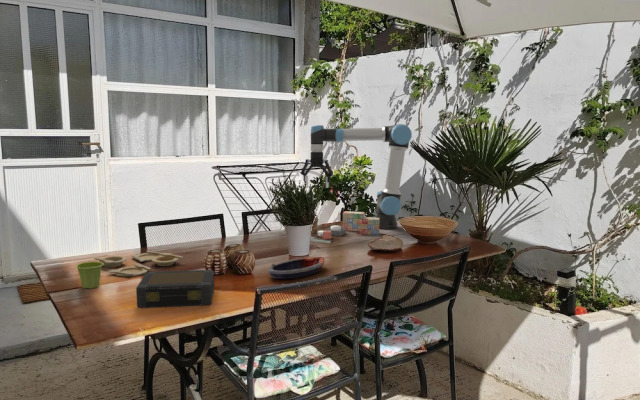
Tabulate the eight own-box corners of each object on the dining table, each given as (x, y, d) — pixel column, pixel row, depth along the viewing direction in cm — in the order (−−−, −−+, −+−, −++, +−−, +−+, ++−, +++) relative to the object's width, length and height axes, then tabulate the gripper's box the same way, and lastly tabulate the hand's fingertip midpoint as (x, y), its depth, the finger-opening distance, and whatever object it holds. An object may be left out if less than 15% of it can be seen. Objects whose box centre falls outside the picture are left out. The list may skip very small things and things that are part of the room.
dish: (258, 276, 208) (258, 264, 207) (313, 263, 229) (313, 252, 228) (282, 285, 197) (282, 272, 196) (336, 270, 218) (337, 259, 217)
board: (346, 235, 289) (346, 228, 289) (331, 243, 267) (331, 236, 267) (319, 232, 296) (319, 225, 295) (302, 240, 274) (303, 233, 273)
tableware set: (122, 281, 200) (121, 271, 200) (85, 268, 218) (85, 259, 217) (192, 263, 228) (192, 254, 227) (154, 253, 246) (154, 245, 245)
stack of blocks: (379, 233, 297) (380, 212, 295) (377, 235, 291) (378, 214, 289) (344, 230, 303) (345, 210, 301) (342, 232, 297) (342, 212, 295)
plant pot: (96, 281, 198) (95, 260, 197) (108, 286, 192) (107, 264, 191) (73, 286, 191) (71, 265, 190) (84, 292, 185) (83, 269, 184)
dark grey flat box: (214, 288, 192) (214, 268, 191) (211, 306, 173) (210, 285, 171) (147, 290, 189) (146, 270, 188) (136, 309, 169) (135, 287, 168)
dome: (342, 231, 287) (342, 225, 286) (338, 233, 281) (338, 227, 281) (332, 231, 289) (332, 225, 289) (329, 232, 284) (329, 226, 283)
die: (331, 237, 276) (331, 230, 276) (330, 239, 272) (330, 231, 272) (324, 237, 277) (324, 229, 276) (322, 239, 273) (323, 231, 272)
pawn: (319, 235, 282) (319, 215, 280) (316, 236, 277) (316, 216, 276) (311, 234, 284) (311, 214, 282) (308, 236, 279) (308, 216, 277)
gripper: (338, 151, 293) (338, 187, 296) (300, 150, 302) (300, 185, 305) (334, 152, 286) (333, 188, 289) (295, 151, 296) (295, 186, 299)
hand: (316, 187), depth 297 cm, fingers open, 13 cm apart
